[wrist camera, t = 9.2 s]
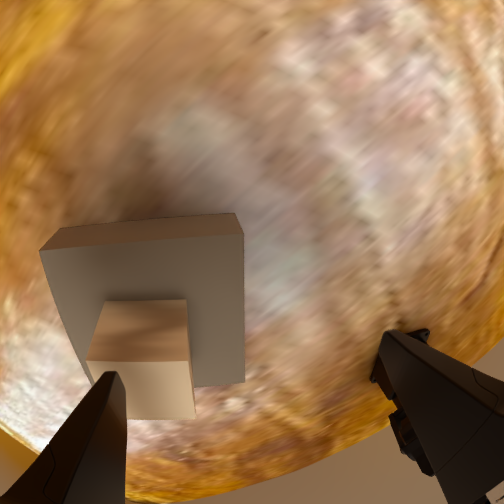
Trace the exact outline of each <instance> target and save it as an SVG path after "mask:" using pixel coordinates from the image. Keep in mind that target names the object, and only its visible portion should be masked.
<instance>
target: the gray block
mask: <svg viewBox="0 0 504 504" xmlns="http://www.w3.org/2000/svg"><path fill="white" fill-rule="evenodd" d="M39 253H40V257H41V261H42V264H43V267H44V271H45V274H46V277H47V280H48V283H49V286H50V289H51V292H52V295H53V298H54V301H55V304H56V306H57V309H58V312H59V314H60V317H61V320H62V322H63V325H64V327H65V329H66V332H67V334H68V337H69V339H70V341H71V344H72V346H73V348H74V350H75V353H76V355H77V357H78V359H79V361H80V363H81V365H82V367H83V369H84V371H85V374H86V375H87V377H88V379H89V381H90V383H91V385H92V386H93V385H94V384H95V382H94V380H93V377H92V375H91V373H90V370H89V368H88V366H87V363H86V361H85V360H86V357H87V354H88V350H89V347H90V344H91V341H92V338H93V335H94V331H95V328H96V325H97V322H98V319H99V317H100V314H101V311H102V308H103V305H104V302H105V301H145V300H179V299H186V301H187V313H188V325H189V335H190V345H191V355H192V368H193V383H194V388H196V387H208V386H218V385H227V384H236V383H244V382H245V326H244V233H243V231H242V228H241V226H240V224H239V222H238V219H237V217H236V215H235V213H224V214H209V215H195V216H181V217H169V218H157V219H146V220H135V221H124V222H114V223H104V224H95V225H86V226H77V227H68V228H60V229H59V230H58V231H57V232H56V233H55V234H54V235H53V236H52V237H51V238H50V239H49V240H48V241H47V243H46V244H45V245H44V246H43V247H42V248H41V249H40V250H39Z"/></svg>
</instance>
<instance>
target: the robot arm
mask: <svg viewBox="0 0 504 504" xmlns="http://www.w3.org/2000/svg"><path fill="white" fill-rule="evenodd" d="M429 334H430V331H429V330H428V329H424V330H420V331H417V332H413V333H410V334H407V335H406V334H404V333H402V332H400V331H398V330H396V329H392V330H388V331H385V332H384V333H383V336H382V339H381V343H380V346H379V357H378V360H377V362H376V365H375V367H374V370H373V373H372V375H371V378H370V381H371V383H376V382H377V383H378V384H379V386H380V388H381V389H382V391H383V392H384V394H385V395H386V397H387V399H388V400H392V401H393V402H394V404H395V405H396V407H397V410H396V411H395V412H394V413H391V414H390V415H389V416H388V417H389V419H390V424H391V427H392V429H393V431H394V434H395V437H396V439H397V442H398V444H399V447H400V451H401V453H402V454H406V455H407V456H408V457H409V458H410V459H412V460H413V461H416V462H417V464H418V465H419V467H420V469H421V471H422V473H424V474H426V475H428V476H431V477H432V476H434V475H435V476H436V477H437V479H438V482H439V484H440V486H441V488H442V491H443V493H444V495H445V497H446V500H447V502H448V504H504V382H503V381H500V380H498V379H495V378H493V377H491V376H489V375H486V374H484V373H482V372H480V371H478V370H476V369H474V368H471V367H470V366H468V365H466V364H464V363H462V362H460V361H458V360H456V359H454V358H452V357H450V356H448V355H446V354H444V353H442V352H440V351H438V350H436V349H434V348H432V347H430V346H429V345H428V344H427V343H426V341H427V339H428V336H429ZM126 449H127V412H126V390H125V386H124V384H123V382H122V380H121V378H120V376H119V374H118V372H117V371H105V372H104V373H103V374H102V375H101V376H100V378H99V379H98V380H97V381H96V383H95V384H94V385H93V386H92V388H91V389H90V390H89V391H88V393H87V394H86V395H85V396H84V398H83V399H82V400H81V401H80V403H79V404H78V405H77V407H76V408H75V409H74V410H73V412H72V413H71V414H70V416H69V417H68V418H67V419H66V421H65V422H64V423H63V425H62V426H61V427H60V428H59V430H58V431H57V432H56V434H55V435H54V436H53V438H52V439H51V440H50V442H49V444H47V446H46V447H45V448H44V450H43V451H42V452H41V453H40V455H39V456H38V457H37V458H36V460H35V461H34V462H33V463H32V464H31V466H30V467H29V468H28V469H27V470H26V471H25V472H24V474H22V476H21V477H20V478H19V479H18V480H17V481H16V482H15V483H14V484H13V485H12V487H10V488H9V490H8V491H7V492H6V493H5V494H3V495H2V496H0V504H125V471H126Z"/></svg>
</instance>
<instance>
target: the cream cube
mask: <svg viewBox="0 0 504 504" xmlns="http://www.w3.org/2000/svg"><path fill="white" fill-rule="evenodd" d="M85 361H86V363H87V366H88V368H89V370H90V373H91V375H92V377H93V380H94V382H95V383H96V381H97V380H98V379H99V378H100V376H101V375H102V374H103V373H104V372H105V371H117V372H118V374H119V376H120V378H121V380H122V382H123V384H124V386H125V390H126V412H127V419H134V420H181V419H196V409H195V397H194V383H193V368H192V355H191V345H190V335H189V325H188V313H187V301H186V299H179V300H145V301H105V302H104V305H103V308H102V311H101V314H100V317H99V319H98V322H97V325H96V328H95V331H94V335H93V338H92V341H91V344H90V347H89V350H88V354H87V357H86V360H85Z"/></svg>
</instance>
